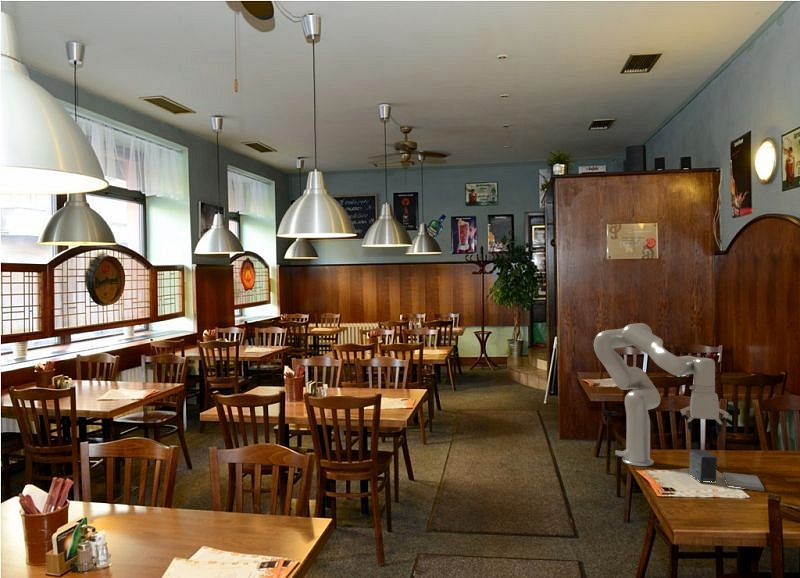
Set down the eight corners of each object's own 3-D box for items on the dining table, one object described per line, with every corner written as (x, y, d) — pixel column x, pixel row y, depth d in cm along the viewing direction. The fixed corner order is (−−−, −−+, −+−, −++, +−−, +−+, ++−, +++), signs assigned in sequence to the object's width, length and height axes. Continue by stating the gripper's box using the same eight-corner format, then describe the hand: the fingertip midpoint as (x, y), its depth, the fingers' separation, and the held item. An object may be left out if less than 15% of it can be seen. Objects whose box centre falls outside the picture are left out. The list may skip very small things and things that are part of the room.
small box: (717, 483, 237) (717, 457, 237) (700, 483, 237) (701, 456, 237) (704, 475, 248) (704, 449, 248) (688, 474, 248) (688, 449, 248)
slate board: (727, 487, 233) (728, 483, 233) (722, 475, 247) (722, 472, 247) (764, 491, 228) (764, 487, 228) (756, 479, 242) (756, 475, 242)
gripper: (680, 389, 241) (680, 432, 242) (730, 392, 235) (730, 436, 235) (679, 386, 248) (679, 428, 249) (727, 389, 242) (727, 432, 242)
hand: (704, 432), depth 242 cm, fingers open, 9 cm apart
